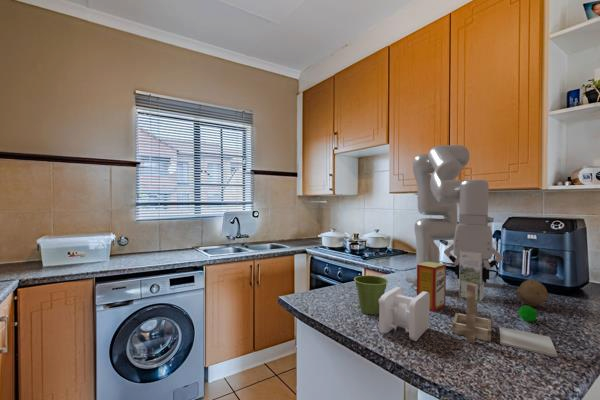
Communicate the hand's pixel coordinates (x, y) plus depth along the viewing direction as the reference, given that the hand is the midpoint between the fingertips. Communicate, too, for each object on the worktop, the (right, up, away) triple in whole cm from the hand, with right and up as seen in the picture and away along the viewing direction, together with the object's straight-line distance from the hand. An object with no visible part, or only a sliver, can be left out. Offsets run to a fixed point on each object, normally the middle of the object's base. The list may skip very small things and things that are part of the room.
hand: (471, 279), depth 90 cm
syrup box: (0, -6, 0) cm, 6 cm away
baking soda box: (-3, -16, +20) cm, 26 cm away
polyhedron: (+23, -16, +8) cm, 29 cm away
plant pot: (-27, -16, +15) cm, 35 cm away
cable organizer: (-21, -16, -1) cm, 26 cm away
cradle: (0, -16, -1) cm, 16 cm away
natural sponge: (+36, -16, +21) cm, 45 cm away
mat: (+11, -16, -7) cm, 20 cm away
